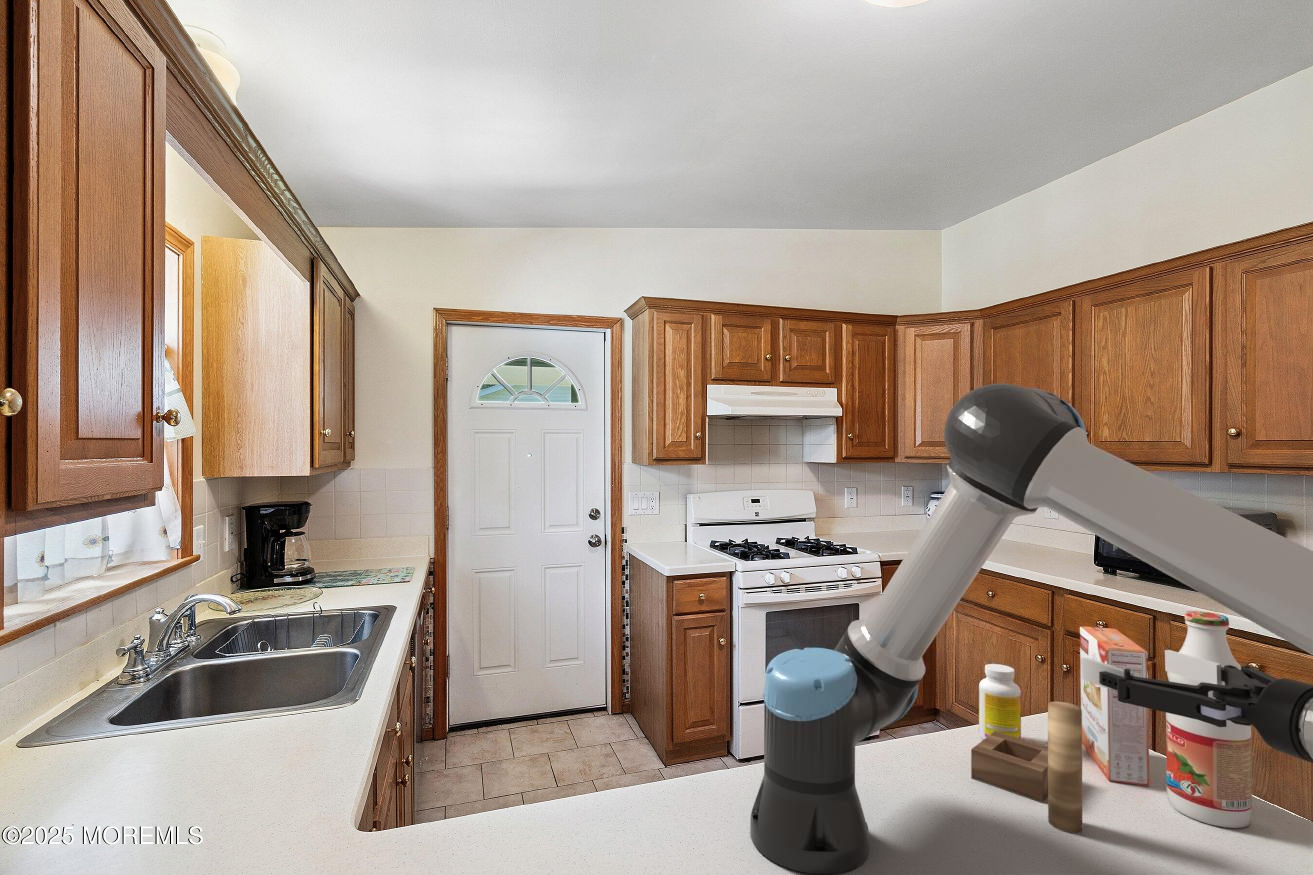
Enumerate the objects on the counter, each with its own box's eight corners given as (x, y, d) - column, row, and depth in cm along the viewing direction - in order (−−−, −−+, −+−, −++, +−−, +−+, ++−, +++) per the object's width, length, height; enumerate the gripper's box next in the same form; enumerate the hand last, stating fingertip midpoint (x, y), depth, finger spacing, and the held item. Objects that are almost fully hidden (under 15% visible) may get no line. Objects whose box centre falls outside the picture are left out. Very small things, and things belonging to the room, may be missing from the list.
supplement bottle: (1028, 749, 115) (1028, 674, 115) (989, 748, 115) (989, 673, 115) (1009, 733, 122) (1009, 662, 122) (972, 732, 122) (972, 661, 122)
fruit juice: (1260, 837, 89) (1258, 626, 89) (1171, 817, 94) (1170, 616, 94) (1243, 806, 97) (1241, 612, 97) (1162, 788, 102) (1161, 604, 102)
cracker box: (1078, 744, 117) (1078, 624, 118) (1118, 749, 115) (1117, 627, 116) (1105, 781, 104) (1104, 646, 104) (1151, 788, 102) (1150, 650, 102)
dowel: (1077, 836, 89) (1077, 715, 89) (1044, 824, 92) (1043, 706, 92) (1086, 824, 91) (1085, 707, 92) (1053, 813, 94) (1052, 699, 95)
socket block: (1042, 802, 97) (1042, 771, 97) (971, 778, 104) (971, 748, 104) (1062, 779, 104) (1062, 750, 104) (994, 758, 111) (994, 731, 111)
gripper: (1230, 779, 63) (1048, 701, 84) (1411, 751, 70) (1200, 685, 90) (1227, 699, 64) (1047, 641, 84) (1408, 678, 70) (1199, 629, 90)
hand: (1126, 663), depth 87 cm, fingers open, 13 cm apart
